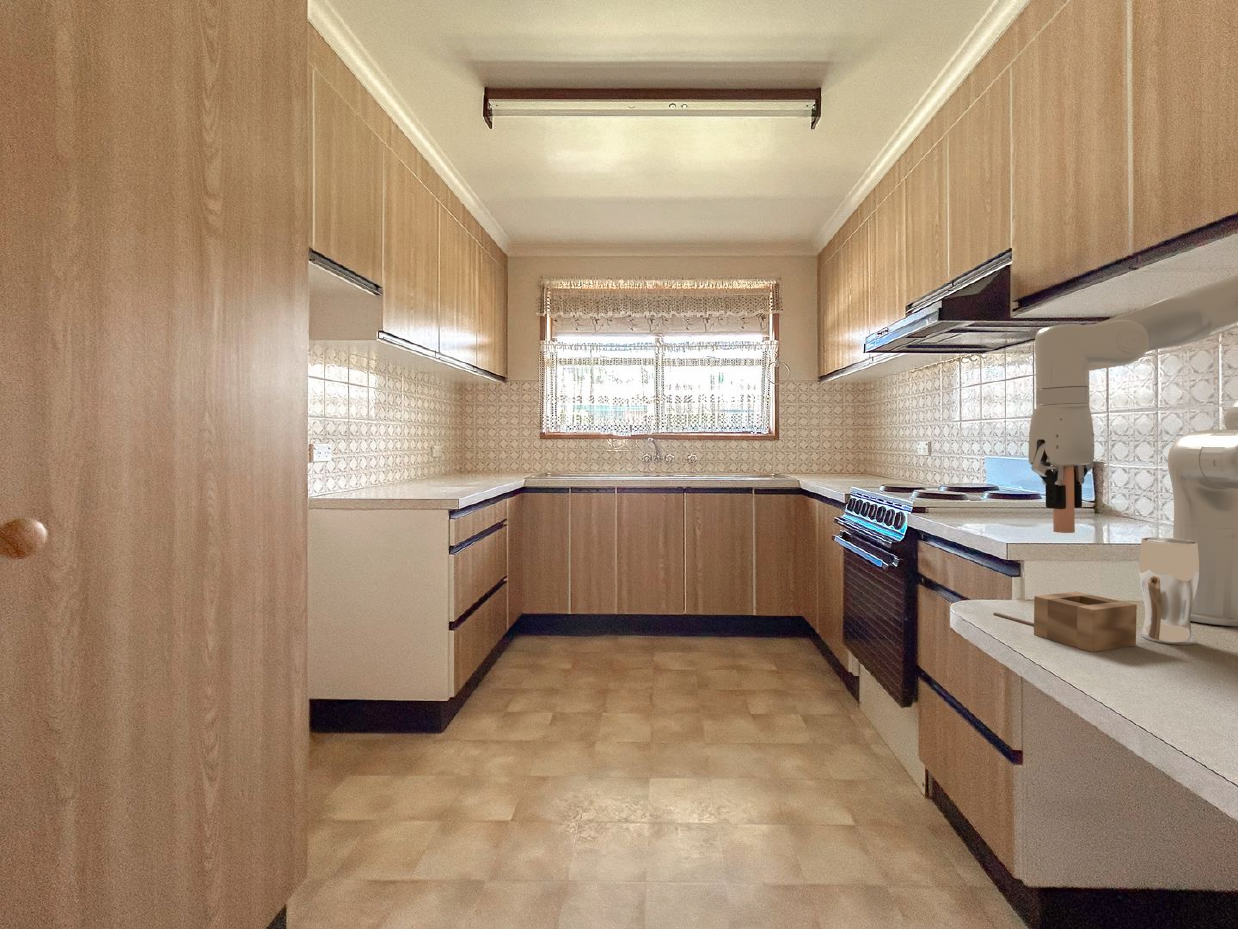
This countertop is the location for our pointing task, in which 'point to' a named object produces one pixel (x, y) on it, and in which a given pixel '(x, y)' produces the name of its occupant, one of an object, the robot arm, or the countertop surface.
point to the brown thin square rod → (1014, 619)
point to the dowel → (1066, 517)
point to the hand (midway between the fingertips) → (1063, 506)
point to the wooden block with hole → (1085, 621)
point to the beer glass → (1168, 588)
